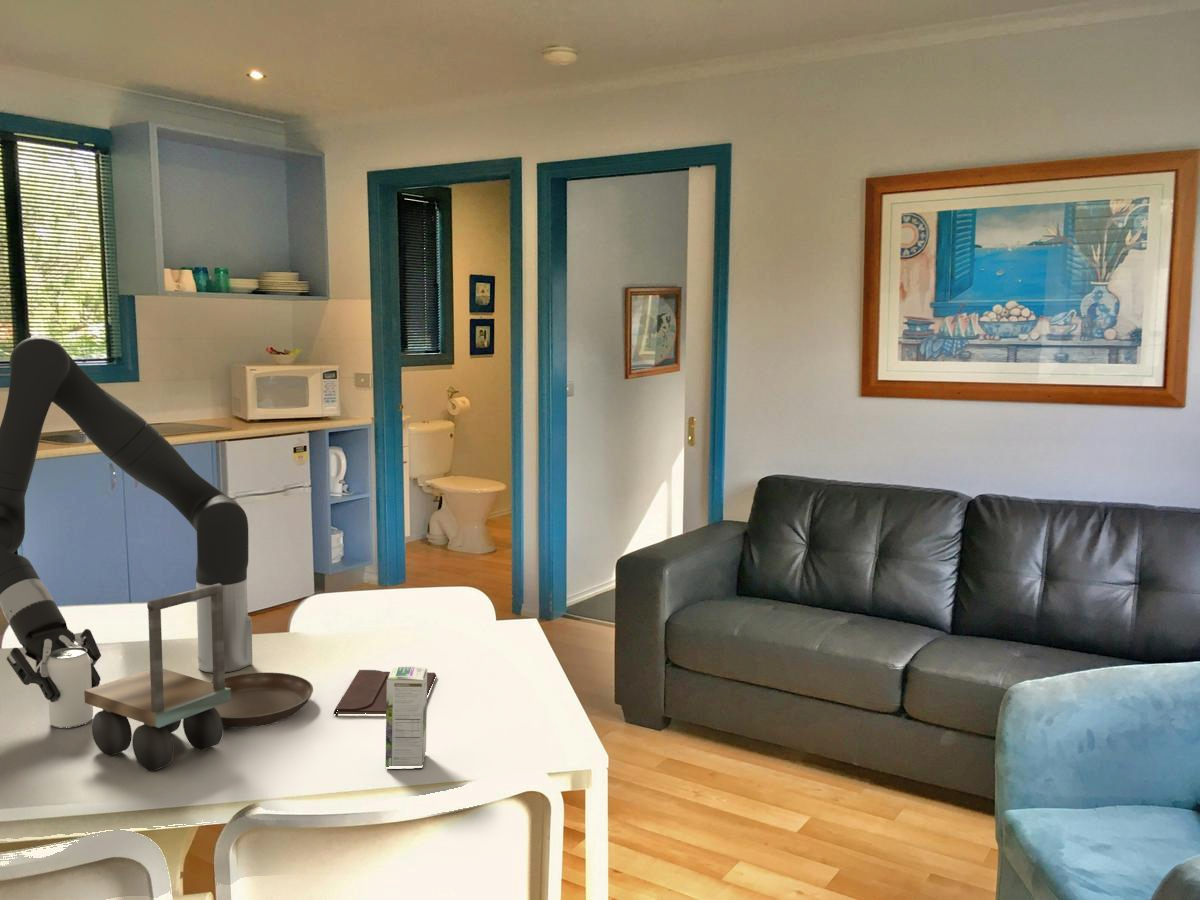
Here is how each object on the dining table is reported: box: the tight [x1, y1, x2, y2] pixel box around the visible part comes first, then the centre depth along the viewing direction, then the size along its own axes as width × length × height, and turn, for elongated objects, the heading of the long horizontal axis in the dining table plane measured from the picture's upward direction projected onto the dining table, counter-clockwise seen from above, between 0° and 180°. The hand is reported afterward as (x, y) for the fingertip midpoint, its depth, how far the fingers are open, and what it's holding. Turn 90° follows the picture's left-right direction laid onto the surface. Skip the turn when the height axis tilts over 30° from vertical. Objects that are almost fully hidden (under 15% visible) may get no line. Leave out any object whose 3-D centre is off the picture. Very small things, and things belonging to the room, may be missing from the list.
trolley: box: [84, 583, 231, 772], centre depth 160 cm, size 18×13×27 cm
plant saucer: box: [210, 672, 314, 729], centre depth 180 cm, size 21×21×3 cm
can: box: [47, 646, 94, 729], centre depth 172 cm, size 6×6×12 cm
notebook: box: [332, 669, 437, 715], centre depth 188 cm, size 15×20×2 cm
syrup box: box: [385, 665, 428, 767], centre depth 159 cm, size 6×6×14 cm
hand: (76, 692), depth 171 cm, fingers closed on can, 6 cm apart
